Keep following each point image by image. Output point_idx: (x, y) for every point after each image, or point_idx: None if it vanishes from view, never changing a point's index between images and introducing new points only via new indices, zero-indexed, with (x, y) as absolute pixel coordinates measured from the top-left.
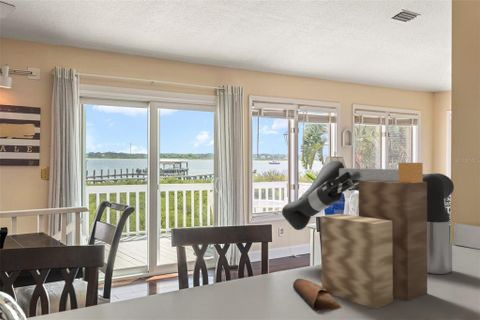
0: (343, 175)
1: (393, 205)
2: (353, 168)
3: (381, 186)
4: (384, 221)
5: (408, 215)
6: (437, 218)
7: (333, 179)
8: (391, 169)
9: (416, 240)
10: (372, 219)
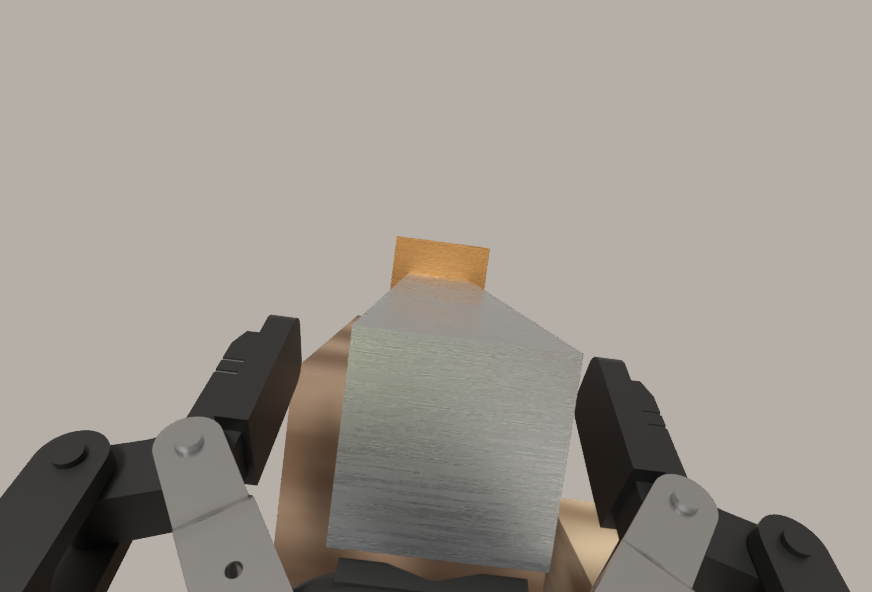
0: (654, 415)
1: None
2: (430, 307)
3: None
4: (591, 505)
5: None
6: None
7: (780, 535)
8: (447, 280)
9: None
10: (605, 542)
